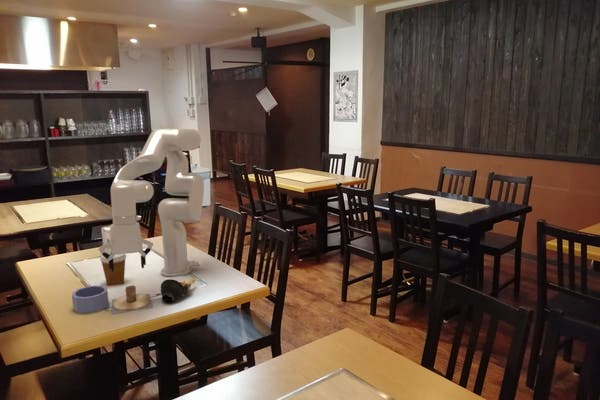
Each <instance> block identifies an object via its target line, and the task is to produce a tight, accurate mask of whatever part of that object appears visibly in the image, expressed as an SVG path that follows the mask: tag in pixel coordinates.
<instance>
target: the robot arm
mask: <svg viewBox="0 0 600 400" xmlns="http://www.w3.org/2000/svg"><path fill="white" fill-rule="evenodd" d="M201 139H202V138H201V134H200V133H199V131H198V130H197V129H194V128H156V129H154V130H152V131H151V133H150V134H149V135H148V138H147V140H146V142H145V144H144V145H143V148H142V150H141V152H140V154H139V155H138V156H137V157H135V158H133V159H131V160H130V161H129V162H128V163H126V164H125V165H124V166H122V167H121V168H120V169H119V170H118V172H117V174H116V175H115V177H114V179H113V181H112V184H111V187H110V201H111V215H112V216H111V217H112V224H110V226H111V227H110V242H108V243H106V244H104V245H103V244H102V245H100V246H99V247H98V251H99V253H100V254H101V255H103V256H104V257H105V258H106V259H108V260H109V269H112V272H113V271H114V263H113V257H114V256H115V254H125V255H126V254H134V253H135V254H136V253H139V255H140V266H141V269H144V268H145V266H146V265H147V262H146V259H147V258H146V257H147V255H148V254H149V253H150V252H151V251H152V247H153V246H154V242H152V241H150V240H147V239H144V238H143V237H142V230H141V225H140V222H138V221H139V220H142V216H141V215H137V209H136V208H137V207H136V206H137V205H136V204H137V203H146V202H148V201H150V200H151V199H152V197H153V196H154V194H155V193H154V192H155V191H154V187H153V185H152V183H150V182H149V181H146V180H135V179H136V178H139V177H141V176H143V175H147V174H149V173H152V172H155V171H157V170H159V169H160V168H161V167H162V165H163V163H164V161H165V159H166V160H167V162H166V163H167V164H166V173H165V182H164V189H165V192H166V193H167V194H168V195H171V196H180V197H181V196H185V197H188V198H179V197H178V198H175V197H172V198H171V197H170V198H164V199H162V200H161V201H160V202H159V204H158V205H157V212H158V216H159V220H160V224H161V235H162V246H163V247H162V248H163V249H162V251H163V263H164V264H163V265H164V267H162V268H161V270H160V274H161V275H162V276H164V277H169V278H171V277H172V278H173V277H175V278H176V277H182V276H183V277H184V276H186V275H189V274H190V273H191V272H192V270H193V269H192V268H193V267H198V266H200V262H199V261H198V260H197V261H196V260H189V259H188V248H187V247H188V245H187V244H188V243H187V230H186V227H185V225H184V224H183V223H196V222H198V221H199V220H200V219H201V216H202V212H203V211H202V210H203V201H204V193H205V181H204V178H203V177H202V175H201V174H200V173H196V172H189V160H188V158H187V157H188V156H186V155H185V153H184V152H186V151H187V152H188V151H195V150H198V148H199V147H200V145H201V142H202V141H201ZM183 151H184V152H183ZM143 244H144V245H146V246H147V247H146V248H145V249H144V250H143ZM109 246H110V249H111V253H110V254H108V253H106V252H105V250H104V249H106V248H108V247H109Z"/></svg>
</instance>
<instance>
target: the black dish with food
mask: <svg viewBox="0 0 600 400" xmlns="http://www.w3.org/2000/svg"><path fill="white" fill-rule="evenodd" d="M196 281H197V277H193V278H192V279H191V280H189V281H187V282H186V281H185V280H183V281H178V280H176V279H173V278H172V279H164V280H163V281H162V282H161V285H160V294H161V300H162V302H164V303H165V304H172V303H174V302H177V301H178V300H180V299H181V298H184V297H185V296H188V295H189V294H190V292H189V291H190V290H191V287H192V284H194V283H195V282H196ZM169 298H172V301H171V302H170V301H167V300H169Z"/></svg>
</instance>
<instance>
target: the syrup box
mask: <svg viewBox="0 0 600 400" xmlns="http://www.w3.org/2000/svg"><path fill="white" fill-rule="evenodd" d="M110 227H111V225H108V226H102V227H101V238H102V239H101V241H102V246H103V245H104V244H106V243H108V242H110ZM104 250H105V252H106V253H107V252H111V249H110V246H109V247H108V248H106V249H104Z"/></svg>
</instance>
